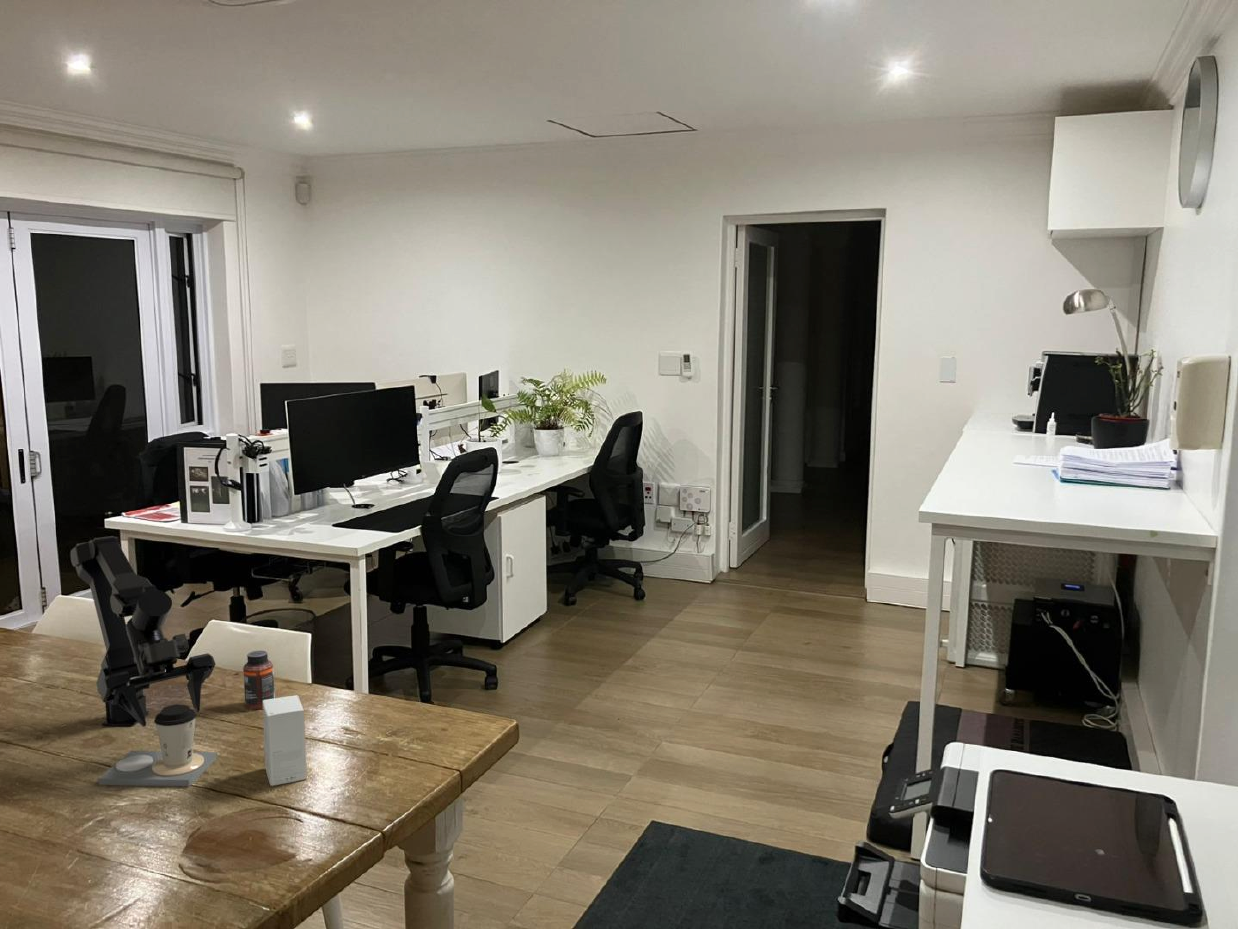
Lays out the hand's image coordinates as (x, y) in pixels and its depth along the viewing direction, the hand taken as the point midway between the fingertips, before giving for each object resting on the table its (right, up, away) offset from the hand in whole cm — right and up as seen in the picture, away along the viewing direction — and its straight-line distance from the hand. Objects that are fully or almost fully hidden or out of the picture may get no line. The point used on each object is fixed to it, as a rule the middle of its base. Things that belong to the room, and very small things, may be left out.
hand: (171, 718), depth 174 cm
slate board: (-2, -10, 0) cm, 10 cm away
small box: (+21, -10, 0) cm, 23 cm away
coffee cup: (+1, -8, 0) cm, 8 cm away
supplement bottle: (+5, -5, +31) cm, 31 cm away
